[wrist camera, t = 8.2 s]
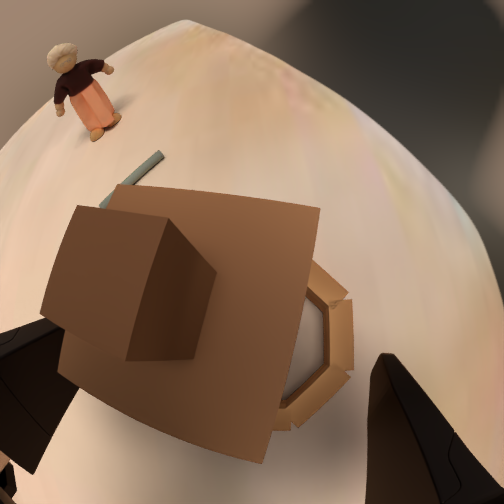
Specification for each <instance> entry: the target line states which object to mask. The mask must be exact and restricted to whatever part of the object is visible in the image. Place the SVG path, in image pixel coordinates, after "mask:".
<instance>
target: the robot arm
mask: <svg viewBox="0 0 504 504" xmlns="http://www.w3.org/2000/svg"><path fill="white" fill-rule="evenodd" d="M64 334H65V329H63V328H61V327H60V326H58V325H56V324H55V323H53V322H52V321H50V320H49V319H47V318H43V319H40V320H37V321H34V322H32V323H29V324H26V325H23V326H21V327H18V328H15V329H12V330H9V331H6V332H4V333H0V504H16V503H15V502H14V501H13V500H12V497H13V496H14V494H15V493H16V491H17V487H16V482H15V475H14V468H13V465H12V464H11V463H10V462H9V461H10V459H11V460H13V461H14V462H15V463H17V464H18V465H19V466H21V467H22V468H23V469H25V470H26V471H27V472H29V473H30V474H32V475H33V474H34V473H35V471H36V469H37V467H38V465H39V462H40V460H41V458H42V456H43V454H44V452H45V450H46V448H47V446H48V444H49V442H50V440H51V438H52V436H53V434H54V432H55V430H56V428H57V427H58V425H59V423H60V421H61V419H62V417H63V416H64V414H65V412H66V410H67V409H68V407H69V405H70V403H71V402H72V400H73V398H74V396H75V395H76V393H77V391H78V390H79V388H80V387H78V386H77V385H75V384H74V383H72V382H71V381H69V380H68V379H67V378H65V377H64V376H62V375H61V374H60V373H58V372H57V371H58V365H59V359H60V354H61V348H62V343H63V338H64ZM367 437H368V448H367V482H366V497H365V504H504V488H503V487H501V486H500V485H499V484H498V483H497V482H496V480H495V479H494V478H493V477H492V476H491V475H490V474H489V472H488V471H487V470H486V469H485V468H484V467H483V466H482V465H481V463H480V462H479V461H478V460H477V459H476V458H475V456H474V455H473V454H472V453H471V452H470V450H469V449H468V448H467V447H466V445H465V444H464V443H463V441H462V440H461V439H460V437H459V436H458V435H457V433H456V432H454V429H453V428H452V427H451V425H450V424H449V423H448V421H447V420H446V419H445V417H444V416H443V415H442V413H441V412H440V411H439V409H438V408H437V407H436V406H435V404H434V403H433V402H432V400H431V399H430V398H429V397H428V395H427V394H426V393H425V392H424V390H423V389H422V388H421V386H420V385H419V384H418V383H417V381H416V380H415V379H414V378H413V377H412V375H411V374H410V373H409V372H408V370H407V369H406V368H405V367H404V365H403V364H402V363H401V362H400V361H399V359H398V358H397V357H396V356H395V355H394V354H392V353H381V354H380V355H379V357H378V359H377V361H376V363H375V365H374V367H373V369H372V372H371V376H370V391H369V406H368V418H367Z"/></svg>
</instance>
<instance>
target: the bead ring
mask: <svg viewBox="0 0 504 504" xmlns="http://www.w3.org/2000/svg"><path fill="white" fill-rule="evenodd" d="M348 293H349V292H348V291H347V290H346V289H344V288H343V287H342V286H341V285H340V284H339V283H338V282H337V281H336V280H335V279H333V278H332V277H331V276H330V275H329V274H328V273H327V272H326V271H325V270H323V269H322V268H321V267H320V266H319V265H318V264H317V263H316V262H314V261H313V260H312V263H311V269H310V274H309V280H308V285H307V290H306V295H305V296H306V297H307V298H308V299H309V300H310V301H311V302H312V303H313V304H315V305H316V306H317V307H318V308H319V309H320V310H321V311H322V312H323V328H324V364H323V365H322V366H321V367H320V368H319V369H318V370H317V371H316V372H315V373H314V374H313V375H312V376H311V377H310V378H309V379H308V380H307V381H306V382H305V383H304V384H303V385H302V386H301V387H299V388H298V389H297V390H296V391H295V392H294V393H293V394H292V395H291V396H290V397H289V398H288V399H286V400H281V402H280V406H279V409H278V413H277V416H276V420H275V423H274V427H273V431H291V422H292V423H293V424H294V425H296V426H297V427H298V428H299V427H300V426H301V425H302V424H303V423H304V422H305V421H307V420H308V419H309V418H310V417H311V416H312V415H313V414H314V413H315V412H317V411H318V410H319V409H320V408H321V407H322V406H323V405H324V404H325V403H326V402H327V401H328V400H329V399H330V398H331V397H332V396H333V395H334V394H335V393H336V392H337V391H338V390H339V389H340V388H341V387H342V386H343V385H344V384H345V383H346V382H347V381H348V380H349V379H350V378H351V377H350V376H349V375H348V374H347V373H346V372H344V371H348V370H354V335H353V309H352V299H350V300H343V298H344V297H345V296H346V295H347V294H348Z"/></svg>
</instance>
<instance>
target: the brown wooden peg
mask: <svg viewBox="0 0 504 504" xmlns="http://www.w3.org/2000/svg"><path fill="white" fill-rule="evenodd" d="M319 214H320V208H317V207H311V206H305V205H299V204H293V203H286V202H280V201H273V200H267V199H260V198H252V197H245V196H238V195H230V194H222V193H213V192H204V191H195V190H185V189H175V188H164V187H152V186H139V185H124V184H117V186H116V188H115V190H114V192H113V194H112V196H111V198H110V201H109V203H108V205H107V207H106V209H103V208H95V207H88V206H80V205H77V207H76V209H75V211H74V213H73V216H72V218H71V220H70V223H69V225H68V228H67V230H66V232H65V235H64V237H63V240H62V243H61V245H60V248H59V251H58V254H57V256H56V259H55V262H54V265H53V268H52V271H51V274H50V278H49V281H48V284H47V288H46V291H45V295H44V299H43V302H42V306H41V310H40V314H41V315H42V316H44V317H45V318H47V319H49V320H50V321H52V322H53V323H55V324H56V325H58V326H60V327H61V328H63V329H65V334H64V338H63V343H62V348H61V354H60V359H59V365H58V371H57V372H58V373H60V374H61V375H62V376H64V377H65V378H67V379H68V380H69V381H71V382H72V383H74V384H75V385H77V386H78V387H80V388H81V389H83V390H84V391H86V392H88V393H89V394H91V395H92V396H94V397H96V398H97V399H99V400H101V401H102V402H104V403H106V404H107V405H109V406H111V407H113V408H114V409H116V410H118V411H120V412H122V413H124V414H126V415H128V416H129V417H131V418H133V419H135V420H137V421H139V422H142V423H144V424H146V425H148V426H150V427H152V428H154V429H157V430H159V431H161V432H163V433H166V434H168V435H171V436H173V437H176V438H178V439H181V440H183V441H186V442H188V443H191V444H194V445H197V446H200V447H203V448H205V449H208V450H212V451H215V452H218V453H221V454H225V455H228V456H232V457H235V458H239V459H243V460H247V461H251V462H255V463H259V464H262V462H263V459H264V456H265V453H266V450H267V446H268V443H269V440H270V437H271V433H272V430H273V427H274V423H275V420H276V416H277V413H278V409H279V406H280V402H281V398H282V394H283V391H284V387H285V383H286V379H287V375H288V371H289V367H290V363H291V359H292V355H293V351H294V346H295V342H296V338H297V333H298V329H299V324H300V320H301V315H302V310H303V305H304V300H305V295H306V290H307V285H308V280H309V274H310V269H311V263H312V258H313V252H314V246H315V240H316V234H317V227H318V221H319Z"/></svg>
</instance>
